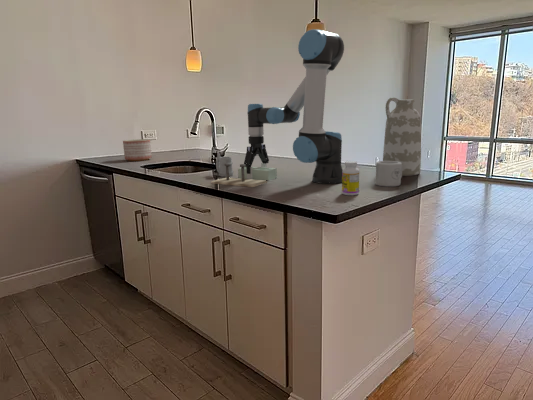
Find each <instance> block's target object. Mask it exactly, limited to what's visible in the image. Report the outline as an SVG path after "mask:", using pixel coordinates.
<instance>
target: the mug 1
mask: <svg viewBox="0 0 533 400" xmlns="http://www.w3.org/2000/svg"><path fill="white" fill-rule="evenodd" d="M215 161H216V162H215V167H216V169H215V170H216V171H217V173H218V174H219V177H221V178H226V166H224V164H225V163H230V166H229V178H231V177H233V175H234V171H233V161H232V156H221V154H220V152H217V156H216V160H215Z"/></svg>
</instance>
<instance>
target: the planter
mask: <svg viewBox="0 0 533 400" xmlns="http://www.w3.org/2000/svg"><path fill="white" fill-rule="evenodd" d="M122 145H123V154H124V155H123V156H124V160H127V161H128V162H145V161H148V160H150V159H151V158H152V150H151V149H152V147H151V140H150V139H147V138H145V139H144V138H140V139H139V138H138V139H126V140H125V139H124V140H122ZM144 160H145V161H144Z"/></svg>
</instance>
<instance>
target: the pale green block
mask: <svg viewBox="0 0 533 400" xmlns="http://www.w3.org/2000/svg"><path fill="white" fill-rule="evenodd" d="M251 167H252V178H253V180H265V181H266V180H269V181H273V180H276V179H278V178H277V176H278V174H277V173H278V172H277V171H278V170H277V167H267V168H262V167H261V166H251ZM244 174H245V179H247V167H244ZM237 176H238V177H237V178H239V179H242V173H241V167H239V168H237ZM275 178H276V179H275ZM272 179H273V180H272Z"/></svg>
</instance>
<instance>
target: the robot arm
mask: <svg viewBox="0 0 533 400" xmlns="http://www.w3.org/2000/svg"><path fill="white" fill-rule="evenodd" d="M297 45H298V47H297V48H298V54H299V55H300V57H301V58H302V59H303V60H302V66H303V67H304V68H305V77H304V78H303V80H302V81H301V82H300V83H299V85H298V87H297V88H296V90H295V91H294V93H292V95H291V96H290V98H289V100H288V101H287V102H286V104H285V105H284V106H282V107H281V106H279V107H277V106H275V107H274V106H273V107H264V105H263V103H248V105H247V126H248V130H247V131H248V132H247V133H248V135H249V136H248V144H249V145H250V146H246V153H245V156H244V162H243V164H245V167H247V179H252V180H253V178H252V167H253V162H254V159H255V157H256V156H258V158H259V159H260V161H261V165H260V167H262V168H268V167H267V164H269V162H270V159H269V155H268V151H267V149H266V144H264V143H265V138H264V131H265V130H264V124H267V125H268V124H269V125H270V124H271V125H278V124H287V123H288V124H293V123H295V122H297V121H299V119H300V115H301V110H302V109H303V115H302V116H303V118H302V119H303V120H302V127H301V128H300V129H299V131H298V137H296V138H295V140H294V141H293V143H292V151H293V154H294V157H296V158H297V160H298V161H299V162H301V163H304V164H309V163H310V164H312V163H314V162H315V168H314V171H313V173H312V182H313V183H317V184H340V183H341V184H342V170H343V169H344V168H343V166H342V144H343V140H342V134H341V133H340V132H337V131H328V130H327V131H326V130H325V129H324V128H323V127H324V126H323V125H324V113H325V102H326V101H325V99H326V86H327V75H328V74H329V72H333V71H334V70H335V69H336V68H337V66H338V65H339V63H340V61H341V60H342V58H343V55H344V51H345V44H344V39H342V37H341V36H340V35H339V34H338V33H335V32H329V31H325V30H323V29H318V28H317V29H314V28H312V29H309V30H307V31H305V32H304V34H303V35H301V37H300V40H299V42H298V44H297Z"/></svg>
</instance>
